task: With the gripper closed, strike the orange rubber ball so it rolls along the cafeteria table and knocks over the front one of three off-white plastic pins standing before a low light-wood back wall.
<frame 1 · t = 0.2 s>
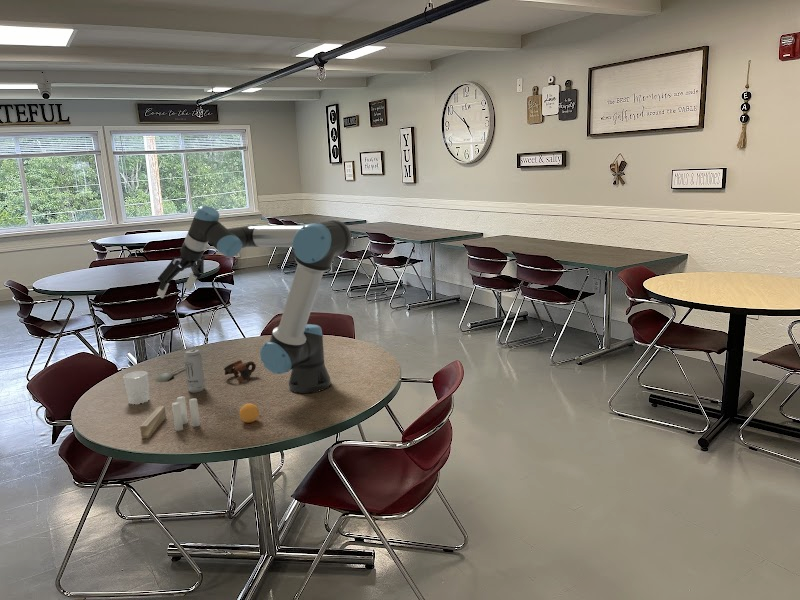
hand: (174, 292, 223), 36 cm above the table, tool tilted 35°, fingers open, 13 cm apart
pin 1: (179, 429, 188), on the table
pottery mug: (241, 379, 234), on the table
energy drink can: (196, 390, 223), on the table
pin 2: (184, 422, 193), on the table
back wall: (154, 427, 190), on the table
ball: (249, 412, 191), on the table
soupspoon: (177, 374, 244), on the table
front pin: (196, 425, 191), on the table
white cup: (139, 401, 214), on the table
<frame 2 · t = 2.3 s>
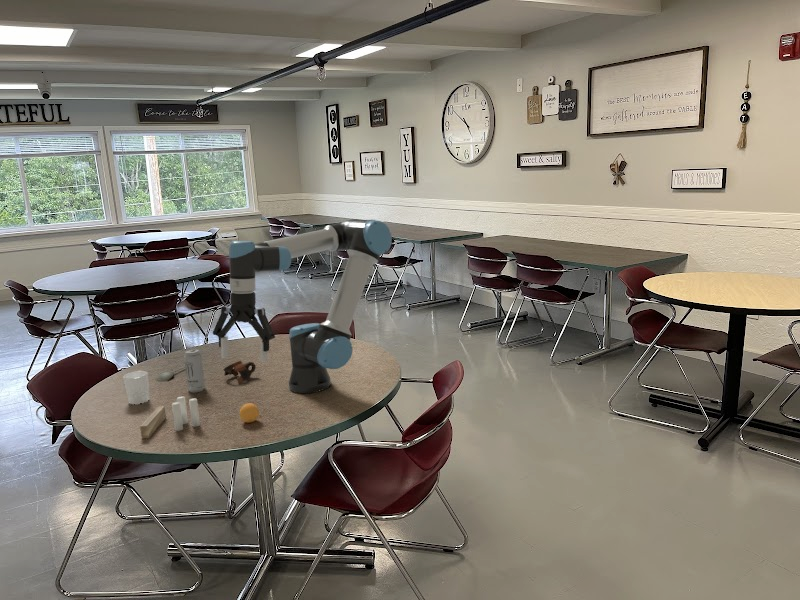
hand: (244, 359, 187), 21 cm above the table, tool pointing down, fingers open, 13 cm apart
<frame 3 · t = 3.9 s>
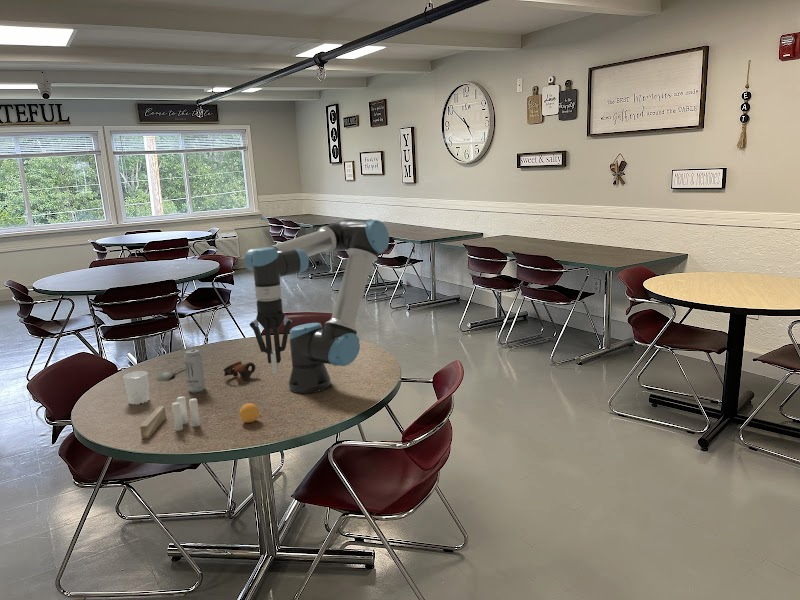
hand: (275, 372, 188), 16 cm above the table, tool pointing down, fingers closed
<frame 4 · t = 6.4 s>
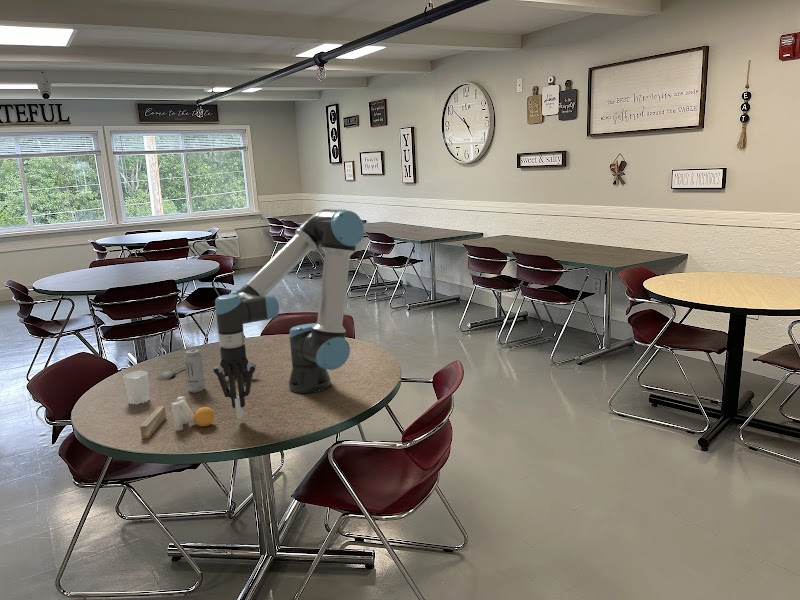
hand: (240, 416, 191), 2 cm above the table, tool pointing down, fingers closed
ball: (204, 416, 190), on the table
front pin: (195, 423, 191), point 1 cm above the table, tilted 26°
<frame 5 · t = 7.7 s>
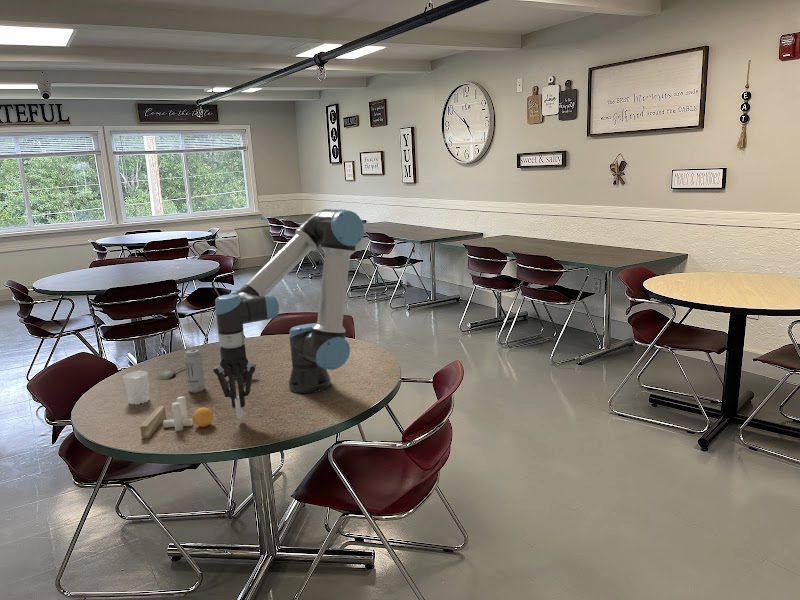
hand: (240, 416, 191), 2 cm above the table, tool pointing down, fingers closed
front pin: (191, 422, 191), point 1 cm above the table, tilted 90°
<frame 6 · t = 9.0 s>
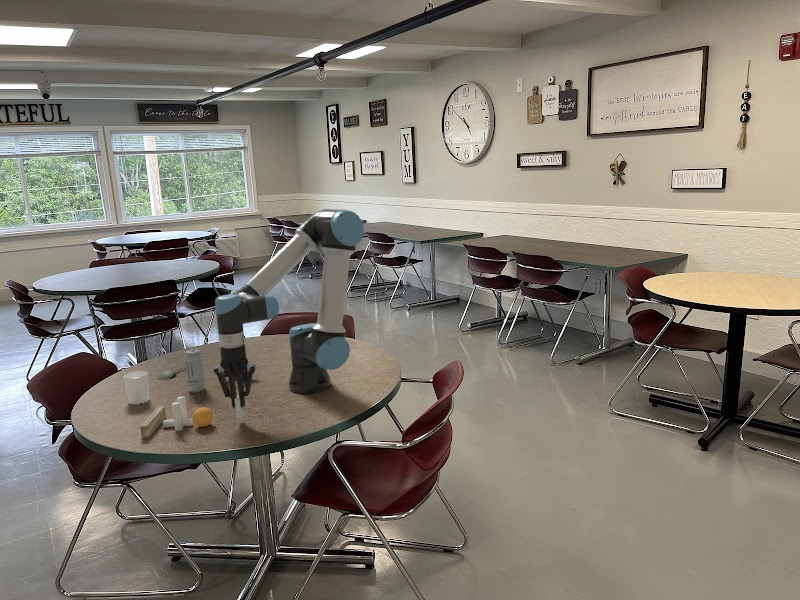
hand: (240, 416, 191), 2 cm above the table, tool pointing down, fingers closed
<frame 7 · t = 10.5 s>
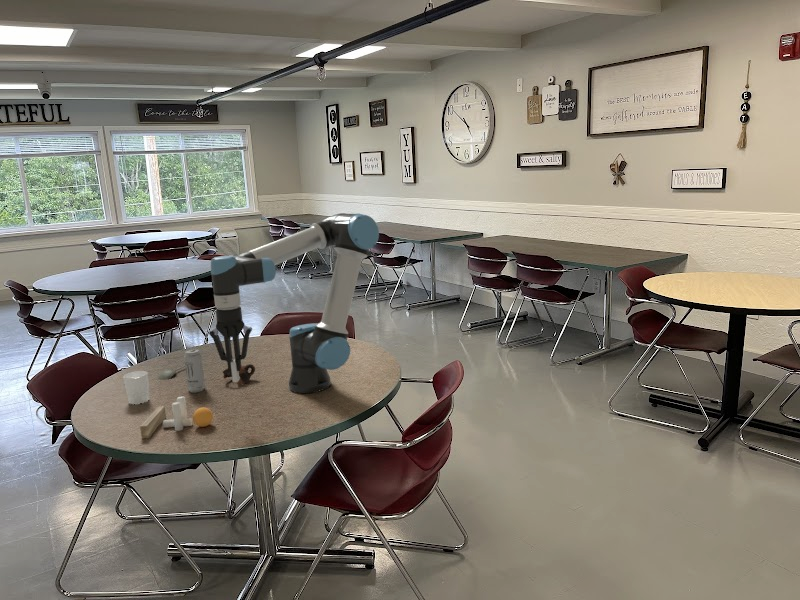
hand: (236, 380, 188), 14 cm above the table, tool pointing down, fingers closed
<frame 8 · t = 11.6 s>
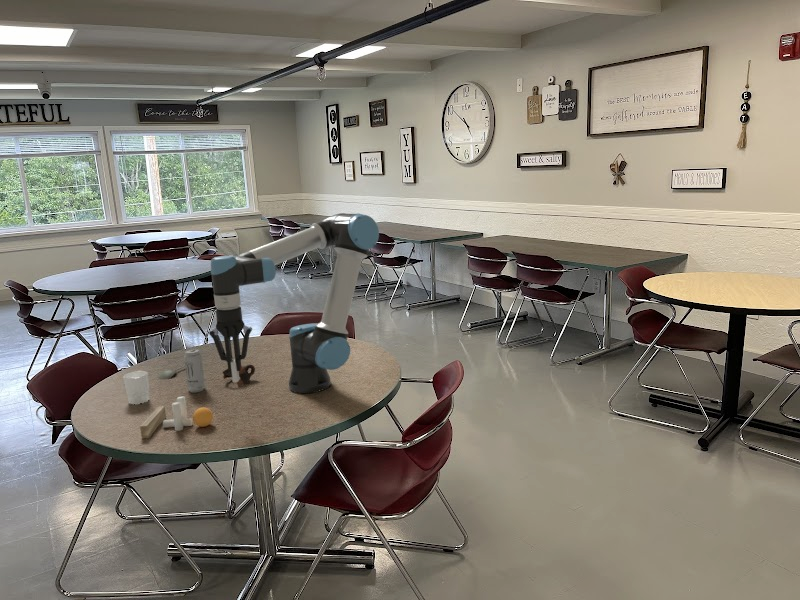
hand: (236, 380, 188), 14 cm above the table, tool pointing down, fingers closed
at the end: front pin tilted 90°; front pin never touched the robot; ball moved 14.2 cm from its start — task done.
